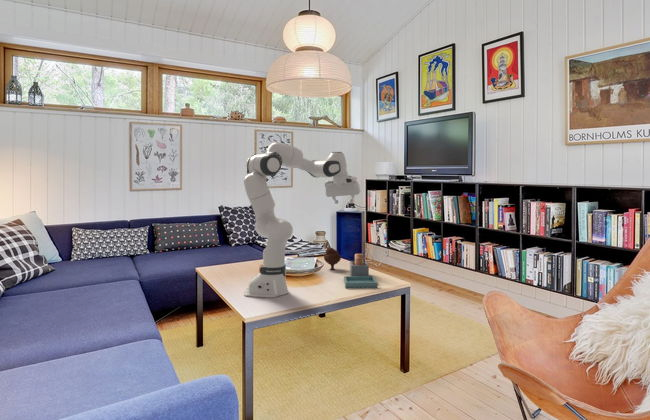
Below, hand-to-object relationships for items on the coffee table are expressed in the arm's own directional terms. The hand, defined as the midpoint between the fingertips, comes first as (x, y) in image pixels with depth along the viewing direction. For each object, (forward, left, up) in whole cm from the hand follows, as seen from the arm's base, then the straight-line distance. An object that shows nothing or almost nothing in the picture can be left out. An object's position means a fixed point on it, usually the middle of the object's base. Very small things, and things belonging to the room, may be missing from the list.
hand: (344, 203), depth 228 cm
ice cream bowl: (-6, +17, -45) cm, 48 cm away
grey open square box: (+9, 0, -44) cm, 45 cm away
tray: (+8, -15, -44) cm, 47 cm away
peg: (+9, 0, -43) cm, 44 cm away
